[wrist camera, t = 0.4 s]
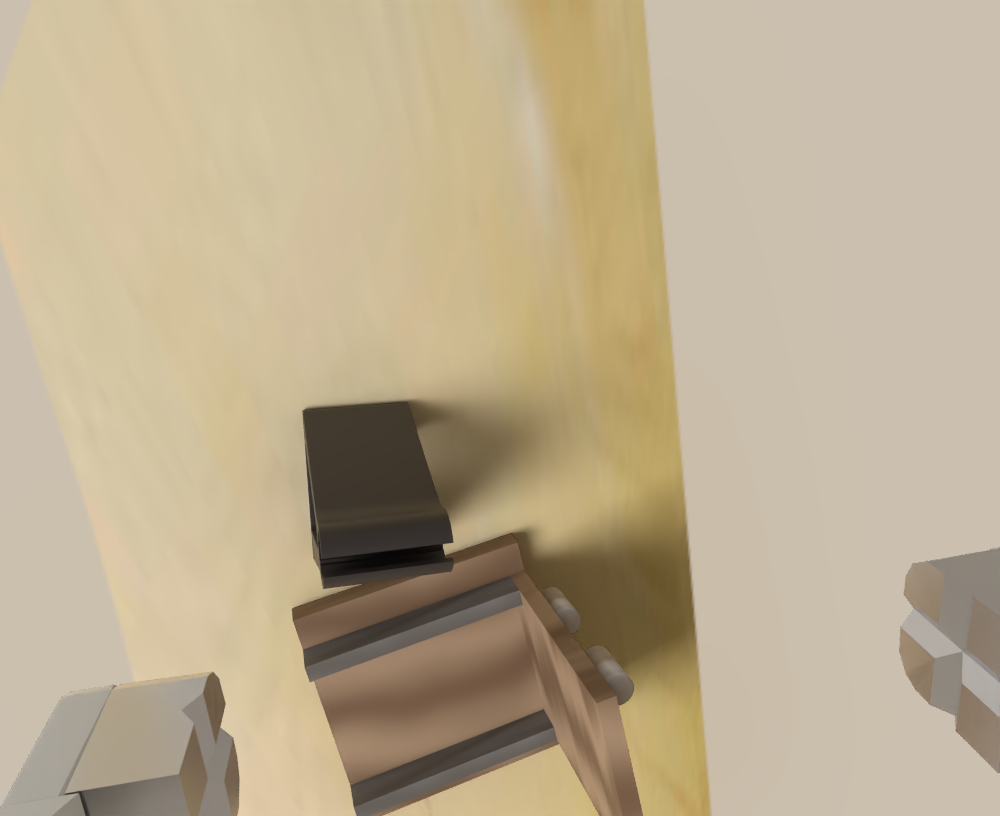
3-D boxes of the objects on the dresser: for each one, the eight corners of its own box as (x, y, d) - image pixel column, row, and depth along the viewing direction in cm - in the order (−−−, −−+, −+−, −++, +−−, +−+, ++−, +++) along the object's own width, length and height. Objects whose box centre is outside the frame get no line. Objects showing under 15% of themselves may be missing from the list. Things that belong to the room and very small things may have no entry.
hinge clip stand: (291, 608, 49) (305, 776, 34) (531, 526, 52) (635, 648, 37) (361, 807, 53) (398, 1030, 39) (578, 719, 56) (687, 896, 42)
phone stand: (412, 544, 50) (456, 640, 39) (312, 556, 48) (327, 659, 37) (407, 401, 48) (452, 459, 37) (302, 408, 46) (315, 471, 35)
